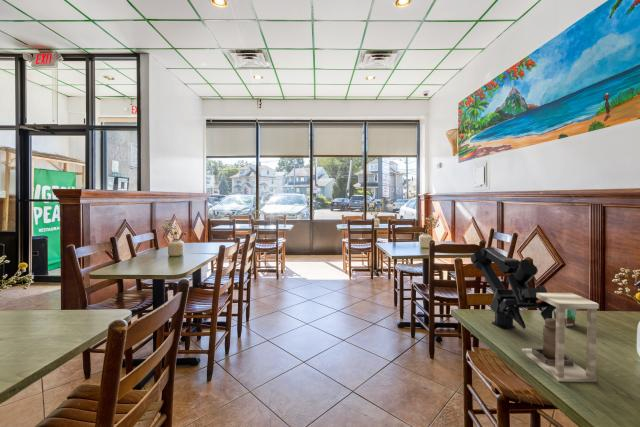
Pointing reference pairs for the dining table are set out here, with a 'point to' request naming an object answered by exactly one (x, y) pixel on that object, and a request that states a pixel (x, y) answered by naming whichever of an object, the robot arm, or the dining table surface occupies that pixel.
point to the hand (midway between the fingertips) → (538, 328)
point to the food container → (568, 317)
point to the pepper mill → (549, 338)
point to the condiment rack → (563, 364)
